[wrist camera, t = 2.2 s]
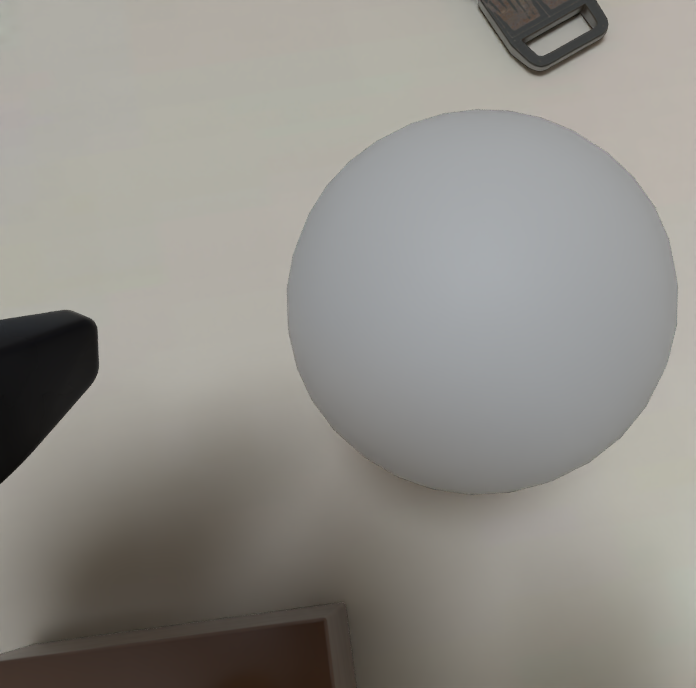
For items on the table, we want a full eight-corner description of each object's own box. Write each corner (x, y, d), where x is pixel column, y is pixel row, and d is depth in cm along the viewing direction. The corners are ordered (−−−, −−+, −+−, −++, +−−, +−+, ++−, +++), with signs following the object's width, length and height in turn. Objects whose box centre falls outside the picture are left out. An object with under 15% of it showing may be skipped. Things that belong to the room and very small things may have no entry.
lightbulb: (568, 291, 19) (727, -4, 8) (577, 511, 17) (789, 493, 7) (357, 292, 20) (257, 28, 9) (348, 501, 18) (213, 472, 8)
